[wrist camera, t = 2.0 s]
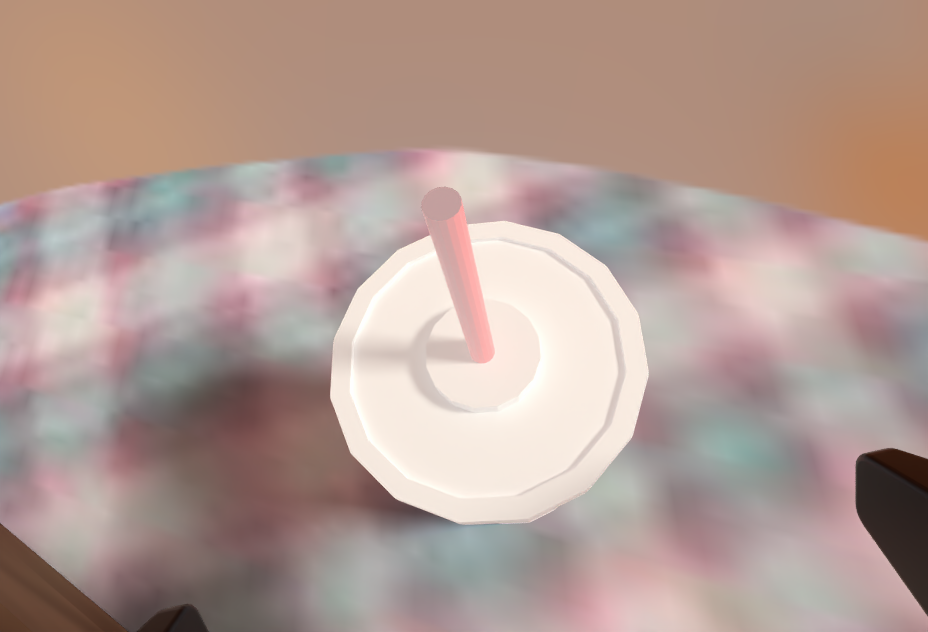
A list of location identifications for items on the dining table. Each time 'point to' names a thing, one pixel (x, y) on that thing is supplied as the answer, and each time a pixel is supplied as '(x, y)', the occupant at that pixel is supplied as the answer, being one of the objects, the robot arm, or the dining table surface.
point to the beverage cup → (488, 369)
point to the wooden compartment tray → (42, 595)
